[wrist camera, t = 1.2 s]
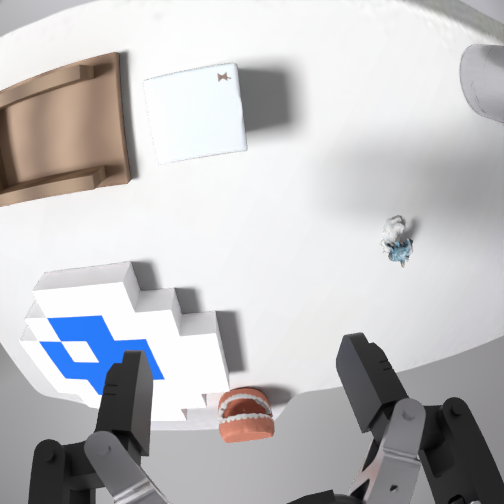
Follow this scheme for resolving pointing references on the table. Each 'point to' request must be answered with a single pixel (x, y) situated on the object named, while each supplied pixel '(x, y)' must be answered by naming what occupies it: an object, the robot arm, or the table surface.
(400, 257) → the sculpture
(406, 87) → the table surface
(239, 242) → the table surface
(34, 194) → the U-rest
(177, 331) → the pixel art tile
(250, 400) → the dentures
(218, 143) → the product box
